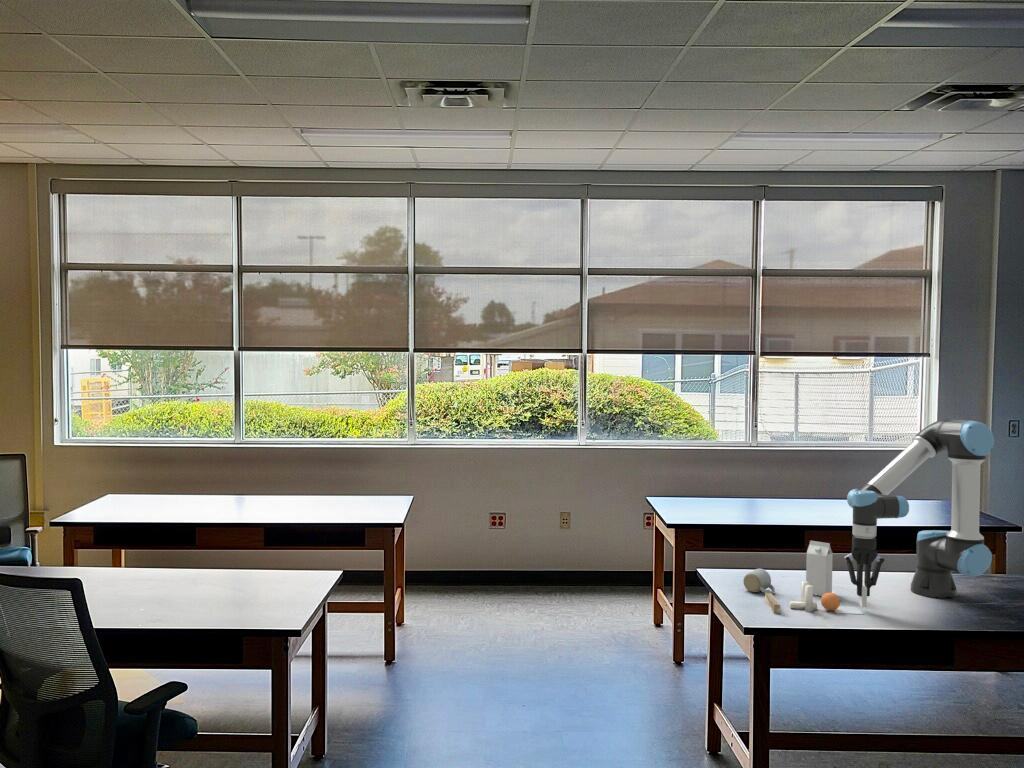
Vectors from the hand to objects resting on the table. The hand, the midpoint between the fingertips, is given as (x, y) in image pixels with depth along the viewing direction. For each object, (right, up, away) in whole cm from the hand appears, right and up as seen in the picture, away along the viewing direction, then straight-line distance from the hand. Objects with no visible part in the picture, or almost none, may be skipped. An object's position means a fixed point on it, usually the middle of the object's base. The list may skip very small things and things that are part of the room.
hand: (863, 605), depth 269 cm
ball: (-11, +1, 0) cm, 11 cm away
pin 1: (-18, -2, +4) cm, 19 cm away
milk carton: (-7, -2, +21) cm, 22 cm away
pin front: (-15, -1, +2) cm, 15 cm away
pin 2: (-19, -2, -1) cm, 19 cm away
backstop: (-30, -2, +3) cm, 30 cm away
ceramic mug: (-28, -2, +23) cm, 36 cm away
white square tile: (-6, -2, +1) cm, 6 cm away
